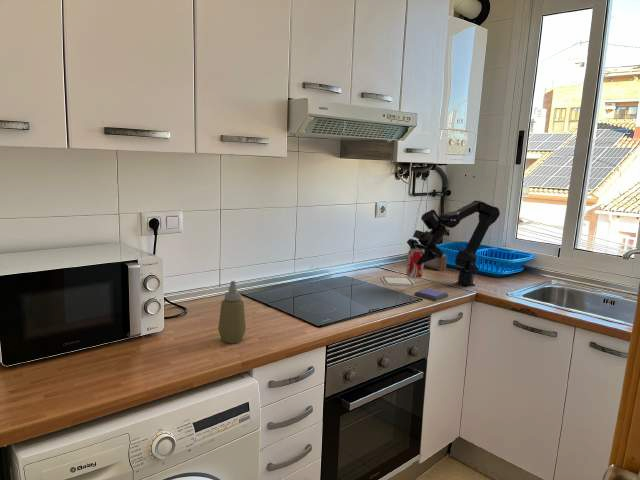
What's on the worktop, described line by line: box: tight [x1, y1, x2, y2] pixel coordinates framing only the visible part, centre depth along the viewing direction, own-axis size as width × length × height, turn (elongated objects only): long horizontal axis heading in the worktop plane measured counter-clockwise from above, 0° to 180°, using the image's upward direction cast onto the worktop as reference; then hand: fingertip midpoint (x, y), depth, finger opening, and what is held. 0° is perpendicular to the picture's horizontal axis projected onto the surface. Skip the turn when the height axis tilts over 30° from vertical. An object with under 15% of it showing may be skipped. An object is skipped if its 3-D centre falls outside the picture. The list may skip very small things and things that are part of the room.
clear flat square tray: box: [380, 275, 417, 287], centre depth 218 cm, size 14×14×1 cm
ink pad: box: [414, 287, 449, 302], centre depth 197 cm, size 10×10×2 cm
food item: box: [423, 250, 448, 271], centre depth 251 cm, size 14×8×10 cm, turn 36°
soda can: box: [406, 248, 424, 279], centre depth 203 cm, size 7×7×12 cm
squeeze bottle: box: [217, 280, 247, 344], centre depth 138 cm, size 8×8×18 cm
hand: (412, 262), depth 202 cm, fingers closed on soda can, 7 cm apart
